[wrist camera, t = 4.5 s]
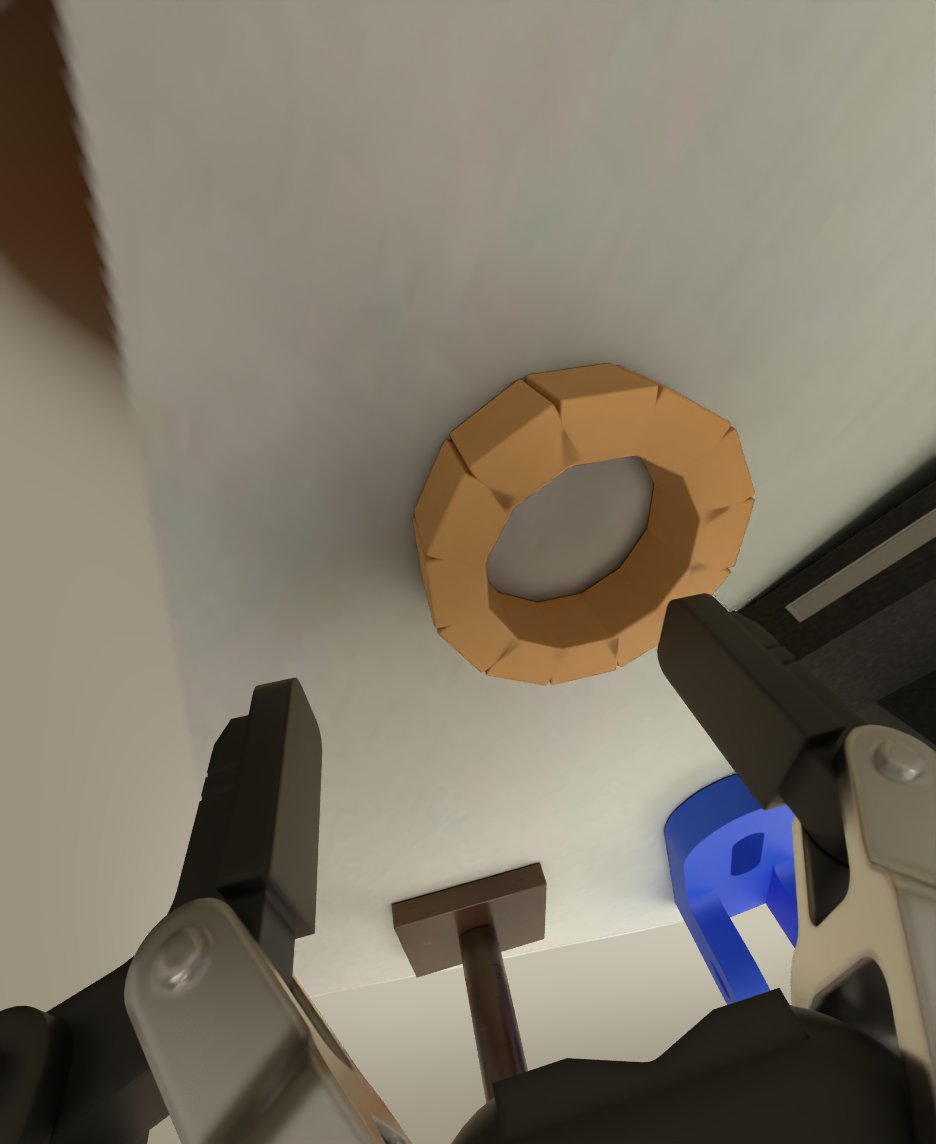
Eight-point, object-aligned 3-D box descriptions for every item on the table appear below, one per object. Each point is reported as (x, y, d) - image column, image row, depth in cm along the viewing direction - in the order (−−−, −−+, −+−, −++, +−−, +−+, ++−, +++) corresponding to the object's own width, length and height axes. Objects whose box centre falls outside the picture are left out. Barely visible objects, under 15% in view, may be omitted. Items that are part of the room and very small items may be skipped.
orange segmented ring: (435, 657, 17) (448, 709, 15) (390, 393, 12) (401, 423, 10) (671, 606, 18) (710, 649, 16) (729, 345, 13) (798, 364, 11)
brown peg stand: (414, 956, 33) (446, 1261, 23) (391, 904, 27) (420, 1271, 18) (538, 919, 34) (619, 1194, 24) (540, 862, 29) (643, 1185, 19)
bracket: (771, 864, 38) (871, 1009, 31) (675, 902, 38) (753, 1055, 31) (793, 751, 28) (954, 931, 20) (660, 804, 28) (773, 1003, 20)
